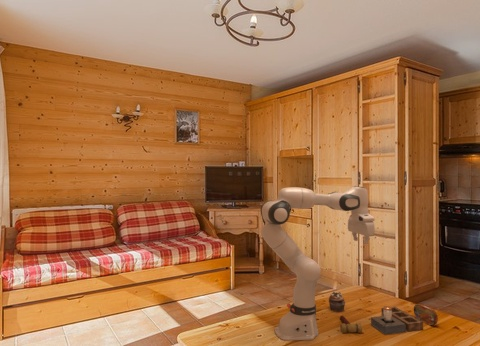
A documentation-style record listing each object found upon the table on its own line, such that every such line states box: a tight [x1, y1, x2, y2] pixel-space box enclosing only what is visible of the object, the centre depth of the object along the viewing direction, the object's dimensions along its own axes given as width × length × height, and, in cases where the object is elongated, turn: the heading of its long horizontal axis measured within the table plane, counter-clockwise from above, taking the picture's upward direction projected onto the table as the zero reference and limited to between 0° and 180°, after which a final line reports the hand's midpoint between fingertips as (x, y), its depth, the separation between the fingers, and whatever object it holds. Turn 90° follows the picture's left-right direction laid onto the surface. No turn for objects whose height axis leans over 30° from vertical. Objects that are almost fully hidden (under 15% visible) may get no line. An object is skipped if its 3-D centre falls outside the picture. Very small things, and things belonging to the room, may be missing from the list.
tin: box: [413, 303, 439, 326], centre depth 188 cm, size 15×3×8 cm, turn 13°
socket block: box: [370, 315, 407, 335], centre depth 181 cm, size 12×12×4 cm
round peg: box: [382, 305, 393, 323], centre depth 181 cm, size 4×4×11 cm
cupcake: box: [328, 291, 346, 313], centre depth 207 cm, size 10×10×10 cm
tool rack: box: [381, 306, 424, 333], centre depth 188 cm, size 9×22×4 cm, turn 13°
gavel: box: [339, 315, 363, 334], centre depth 186 cm, size 21×5×10 cm
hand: (360, 242), depth 185 cm, fingers open, 8 cm apart
